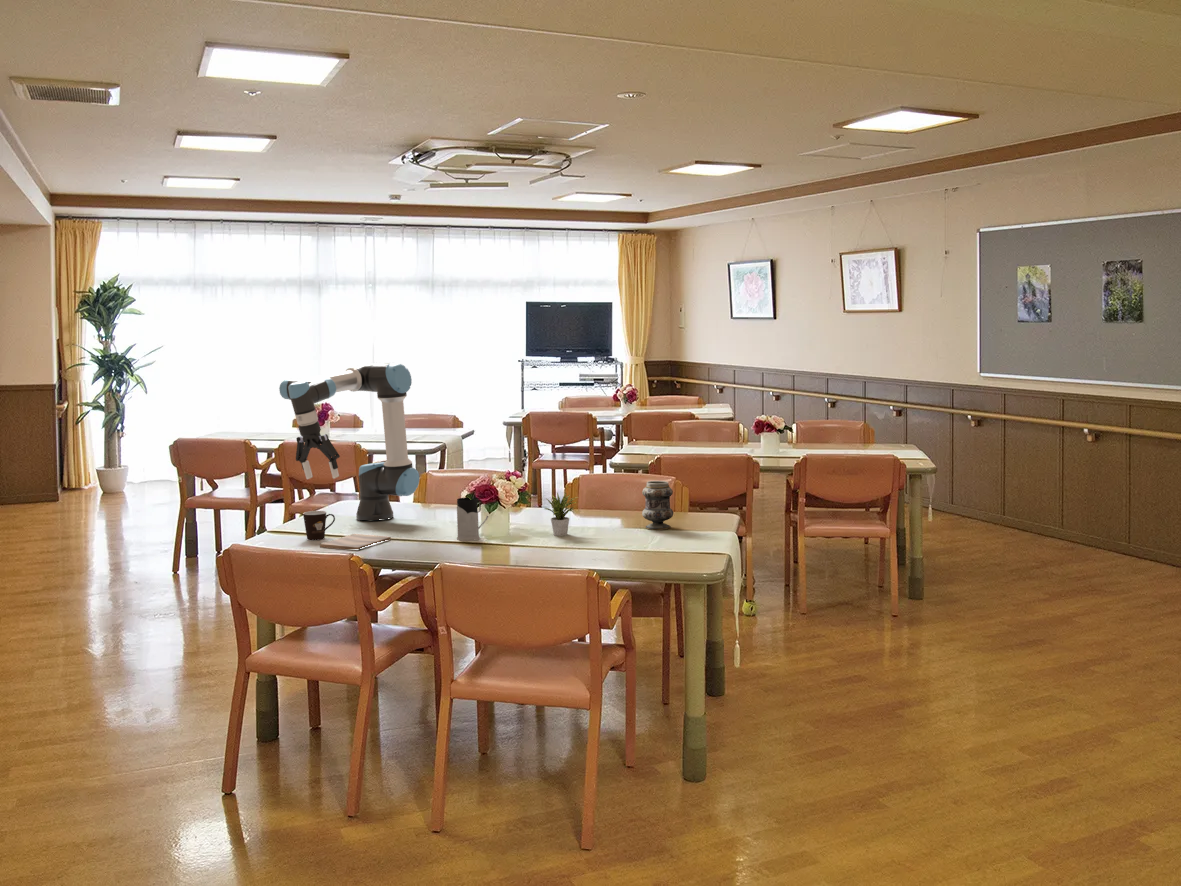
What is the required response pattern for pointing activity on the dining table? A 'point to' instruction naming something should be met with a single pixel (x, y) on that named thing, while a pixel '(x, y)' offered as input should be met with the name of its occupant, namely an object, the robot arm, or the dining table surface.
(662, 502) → the apothecary jar
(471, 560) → the dining table surface
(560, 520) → the house plant
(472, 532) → the gray pitcher
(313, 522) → the coffee mug
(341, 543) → the spiral notebook
